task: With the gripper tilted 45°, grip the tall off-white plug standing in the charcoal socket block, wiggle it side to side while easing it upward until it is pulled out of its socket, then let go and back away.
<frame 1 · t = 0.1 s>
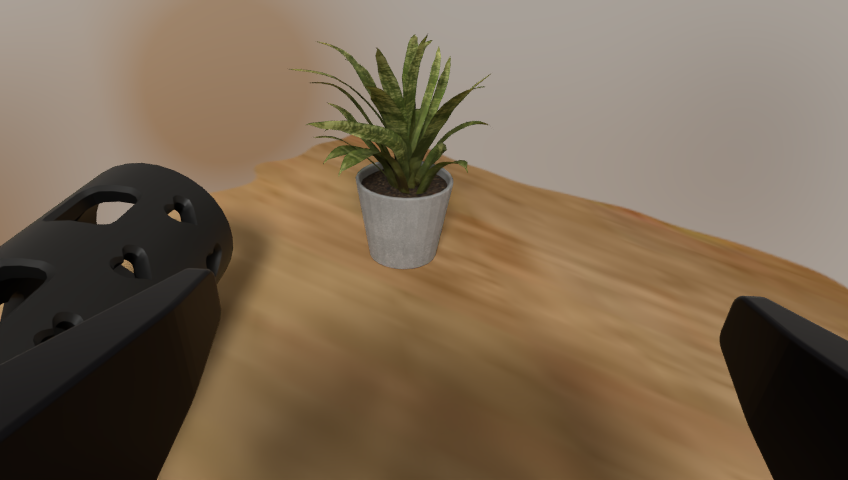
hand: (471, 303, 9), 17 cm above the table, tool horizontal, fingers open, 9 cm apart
house plant: (395, 244, 43), on the table
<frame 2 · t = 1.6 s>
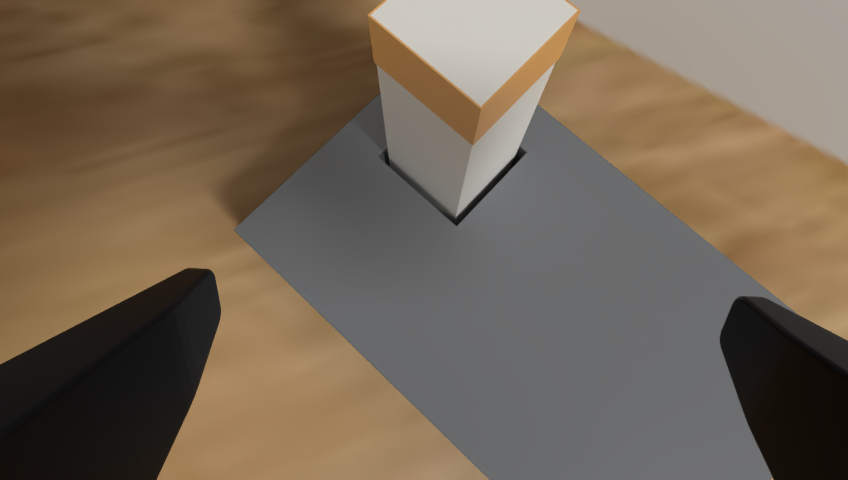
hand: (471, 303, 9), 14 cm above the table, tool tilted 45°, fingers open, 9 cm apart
plug: (458, 118, 19), point 6 cm above the table, slide at 0.0 cm
socket block: (521, 304, 23), on the table
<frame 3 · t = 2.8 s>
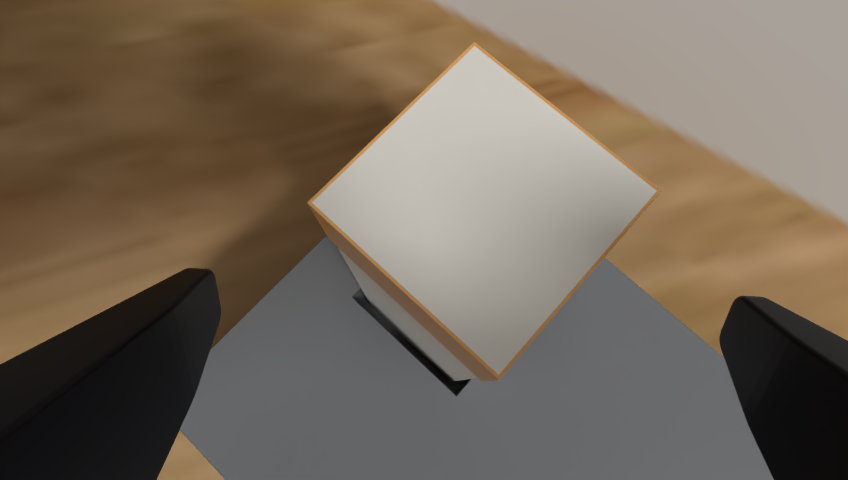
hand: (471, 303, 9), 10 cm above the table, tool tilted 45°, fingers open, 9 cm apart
plug: (458, 272, 13), point 6 cm above the table, slide at 0.0 cm
socket block: (541, 477, 18), on the table
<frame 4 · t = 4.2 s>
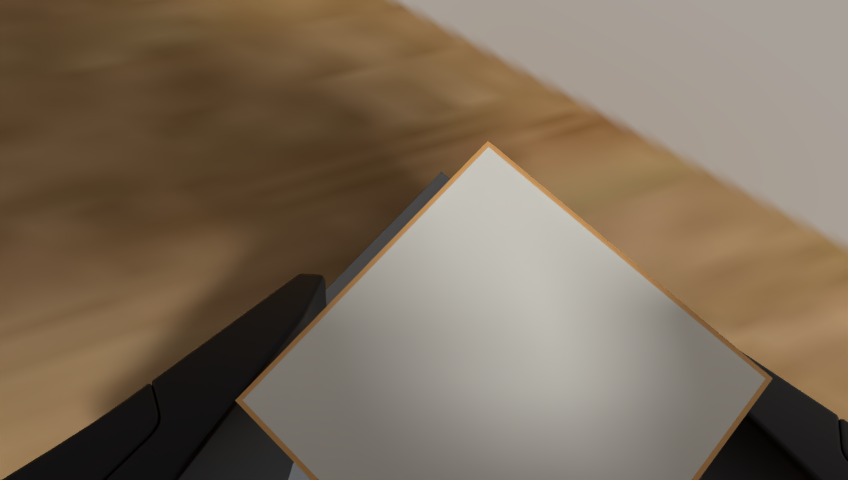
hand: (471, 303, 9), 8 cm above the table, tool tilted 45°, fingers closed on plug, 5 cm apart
plug: (461, 385, 11), point 6 cm above the table, slide at 0.0 cm, touching gripper, socket block
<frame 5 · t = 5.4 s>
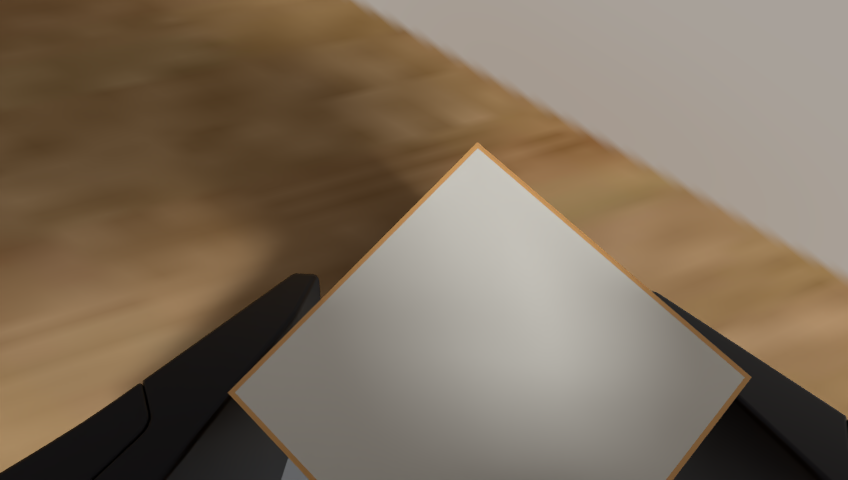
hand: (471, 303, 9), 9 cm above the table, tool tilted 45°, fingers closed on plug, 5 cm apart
plug: (456, 381, 11), point 8 cm above the table, slide at 1.6 cm, touching gripper
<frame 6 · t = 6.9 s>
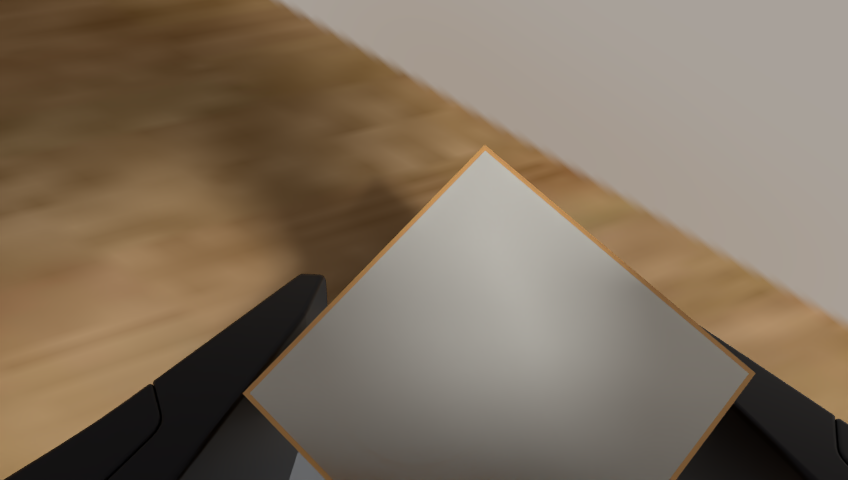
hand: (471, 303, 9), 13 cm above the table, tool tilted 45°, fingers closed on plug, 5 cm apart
plug: (460, 379, 11), point 11 cm above the table, slide at 4.8 cm, touching gripper
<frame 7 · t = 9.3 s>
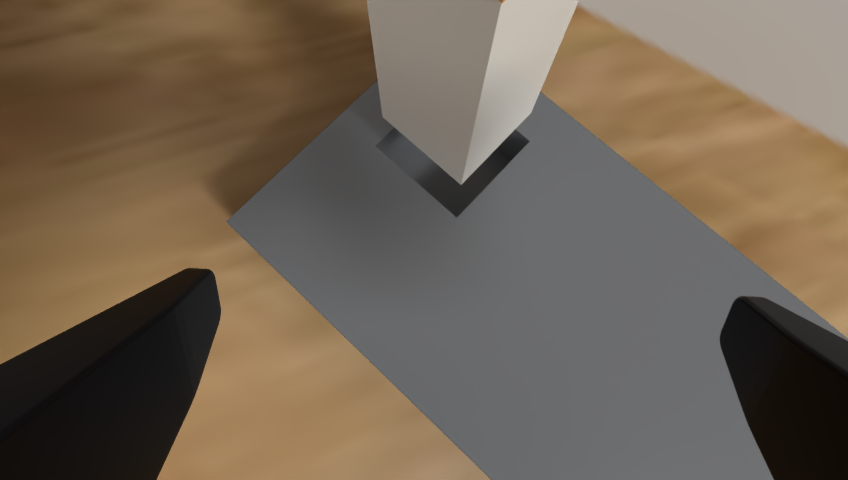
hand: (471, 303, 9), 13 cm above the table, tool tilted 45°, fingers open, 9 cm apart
plug: (472, 7, 13), point 11 cm above the table, slide at 4.8 cm
socket block: (523, 298, 22), on the table
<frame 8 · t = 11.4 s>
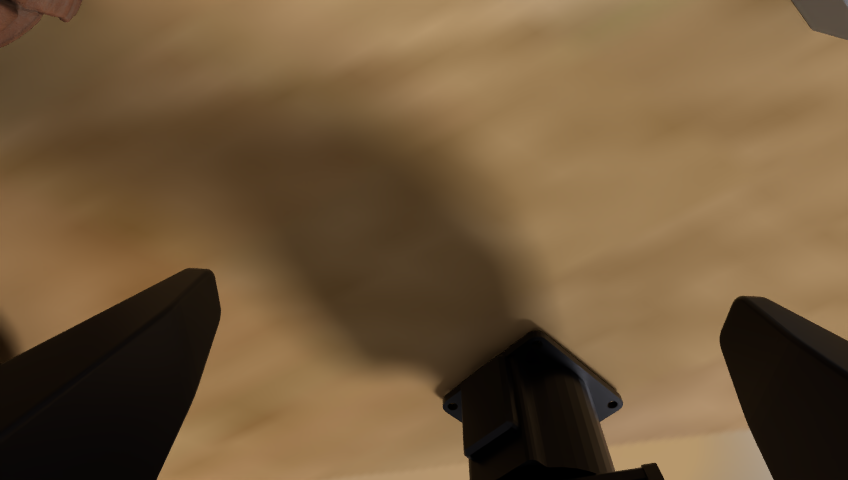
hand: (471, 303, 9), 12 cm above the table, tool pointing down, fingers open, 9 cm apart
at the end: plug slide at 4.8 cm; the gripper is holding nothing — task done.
